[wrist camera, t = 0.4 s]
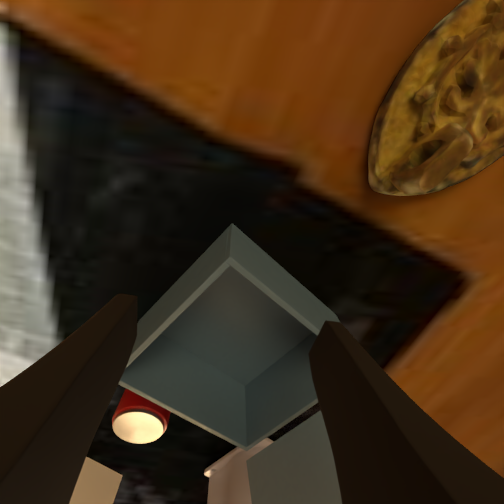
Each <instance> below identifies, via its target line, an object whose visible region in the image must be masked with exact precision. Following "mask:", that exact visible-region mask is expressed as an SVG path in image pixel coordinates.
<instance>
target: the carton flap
mask: <svg viewBox="0 0 504 504" xmlns="http://www.w3.org/2000/svg"><path fill="white" fill-rule="evenodd" d="M246 463H247V471H248V479H249V486H250V494H251V502H252V504H342V500H341V494H340V488H339V483H338V478H337V473H336V467H335V462H334V457H333V453H332V449H331V445H330V441H329V437H328V434H327V430H326V427H325V423H324V420H323V416H322V413H321V410H320V411H319V412H318V413H316V414H315V415H313V416H312V417H310V418H309V419H307V420H306V421H304V422H303V423H301V424H300V425H298V426H297V427H295V428H294V429H292V430H291V431H289V432H288V433H286V434H285V435H283V436H282V437H280V438H279V439H278V440H276V441H275V442H273V443H272V444H270V445H269V446H267V447H266V448H264V449H263V450H261V451H260V452H258V453H257V454H255V455H254V456H252V457H251V458H249V459H248V460H246Z"/></svg>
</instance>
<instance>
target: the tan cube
mask: <svg viewBox="0 0 504 504" xmlns="http://www.w3.org/2000/svg"><path fill="white" fill-rule="evenodd" d="M122 476H123V475H121V474H119V473H117V472H115V471H113V470H111V469H109V468H108V467H106V466H104V465H102V464H100V463H98V462H96V461H94V460H92V459H90V458H88V457H86V458H85V461H84V464H83V467H82V469H81V472H80V475H79V477H78V480H77V483H76V486H75V488H74V491H73V494H72V497H71V500H70V502H69V504H113V502H114V499H115V496H116V493H117V490H118V488H119V485H120V482H121V479H122Z"/></svg>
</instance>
